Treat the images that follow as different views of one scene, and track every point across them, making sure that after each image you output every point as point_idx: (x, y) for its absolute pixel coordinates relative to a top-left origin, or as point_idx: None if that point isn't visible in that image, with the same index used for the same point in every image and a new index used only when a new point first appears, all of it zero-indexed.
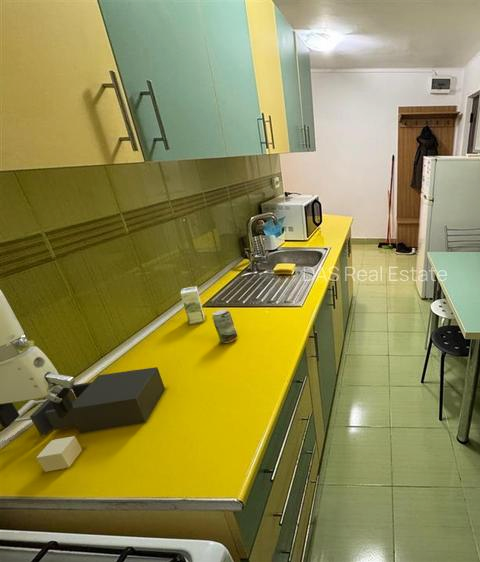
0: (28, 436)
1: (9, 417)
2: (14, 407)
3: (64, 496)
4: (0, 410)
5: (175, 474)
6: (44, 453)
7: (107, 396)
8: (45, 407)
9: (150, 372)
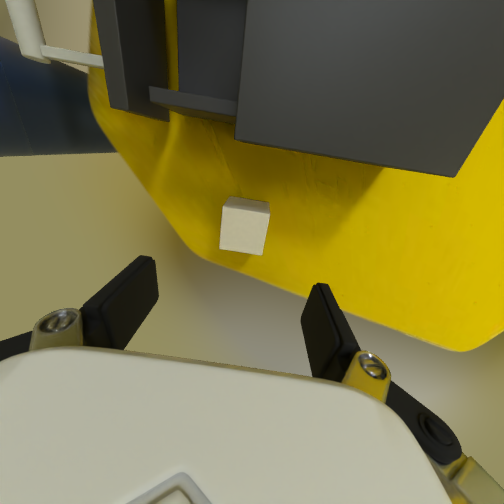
0: None
1: (146, 300)
2: (130, 286)
3: (276, 286)
4: (113, 347)
5: (412, 307)
6: (229, 244)
7: (361, 112)
8: (124, 50)
9: None
